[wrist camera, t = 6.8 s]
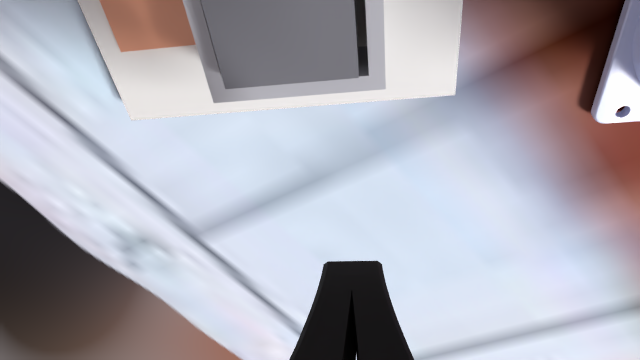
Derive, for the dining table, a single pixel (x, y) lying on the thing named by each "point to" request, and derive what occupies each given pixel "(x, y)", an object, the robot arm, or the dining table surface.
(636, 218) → the dining table surface
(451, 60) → the button board
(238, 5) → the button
